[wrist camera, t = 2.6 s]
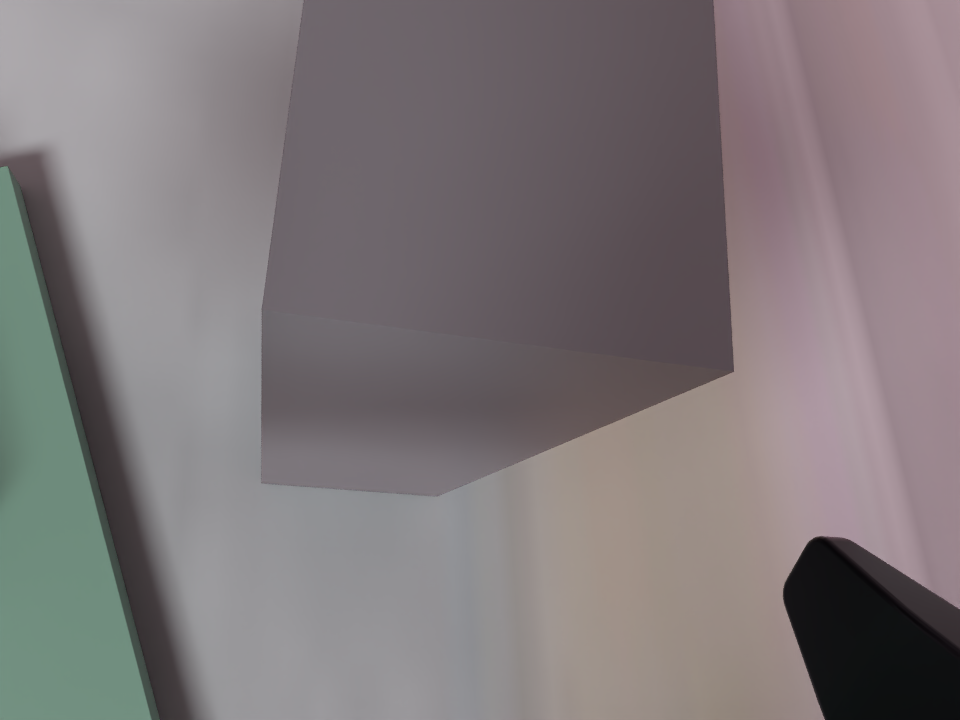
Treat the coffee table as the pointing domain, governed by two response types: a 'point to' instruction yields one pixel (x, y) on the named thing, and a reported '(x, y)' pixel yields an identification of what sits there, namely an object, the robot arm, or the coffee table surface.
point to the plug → (489, 235)
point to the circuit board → (53, 520)
